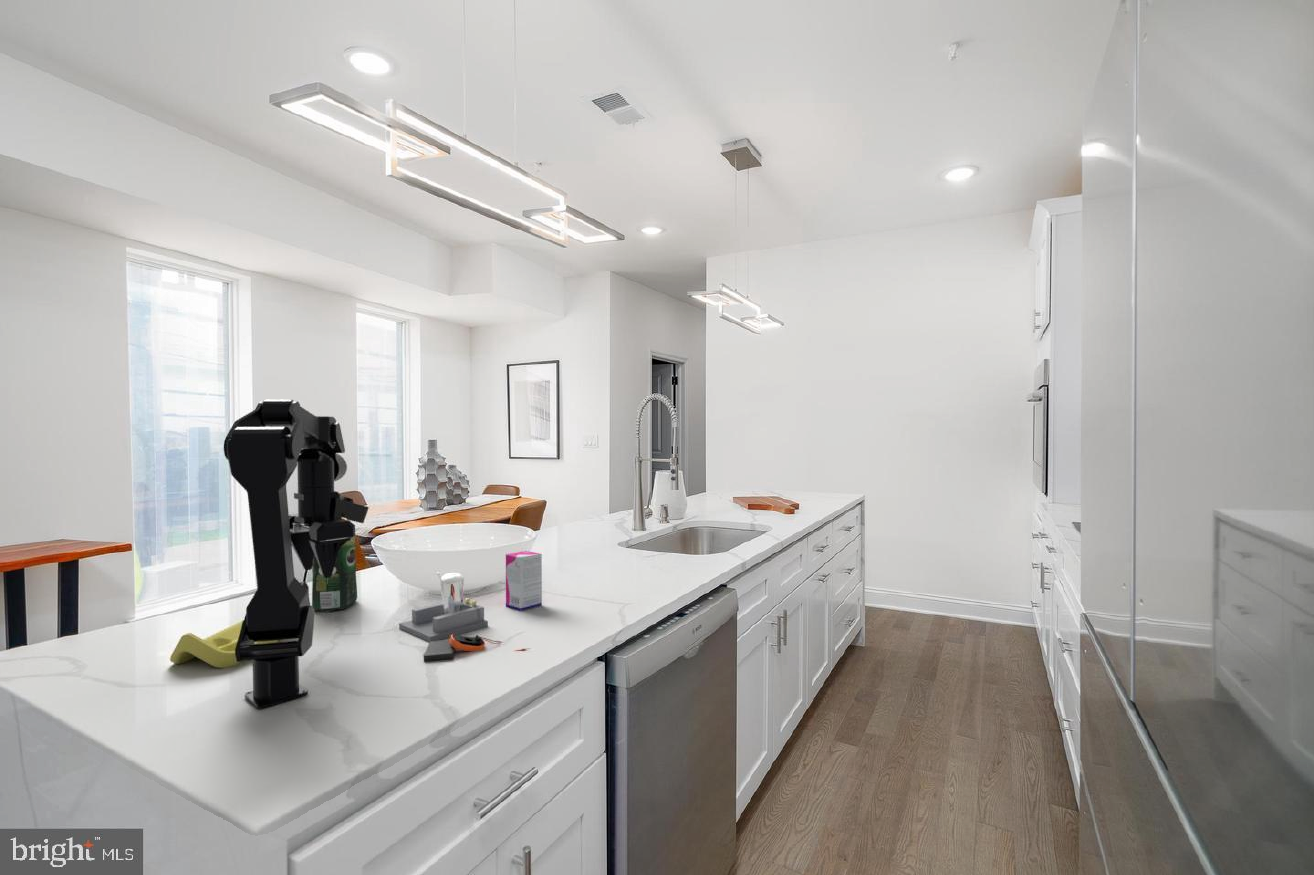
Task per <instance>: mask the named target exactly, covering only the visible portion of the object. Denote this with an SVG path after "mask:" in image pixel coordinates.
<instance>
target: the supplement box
mask: <svg viewBox="0 0 1314 875" xmlns="http://www.w3.org/2000/svg"><path fill="white" fill-rule="evenodd" d="M542 556H543V554H542V553H540V552H535V551H534V552H533V551H530V550H529V551H527V550H523V551H518V552H517V551H516V552H511V553H506V554H505V607H507V608H510V609H513V610H518V611H521V612H523V611H527V610H530V609H533V608H538V607H540V606H543V591H542V590H543V574H542V573H543V572H542V570H543V566H542V558H543V557H542Z"/></svg>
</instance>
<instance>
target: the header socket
mask: <svg viewBox="0 0 1314 875" xmlns="http://www.w3.org/2000/svg"><path fill="white" fill-rule="evenodd" d="M470 601H471V600H470V598H469V597H467V598H465V600H464V599H463V601H462V610H461V611H457V612H453V613H449V614H445V615H444V614H443V603H442V602H438V603H435V604H434V603H433V604H430V605H426V606H425V605H424V606H421V607H415V608H413V609H411V620H408V621H402V622H399V624H398V625H399V627H398V629H399V630H402V631H404V632H406V633H409V634H410V635H413V636H415V637H417V638H420V639H422V640H424V641H426V642H428V643H429V642H431V641H439V640H445V639H449V638H450V637H451V635H452V634H453V635H462V634H466V633H469V632H472V631H476V630H479V629H484V628H485V627H488V626H489V621H488V620H486V619H485V606H482V605H480V604H477V600H472V602H470Z"/></svg>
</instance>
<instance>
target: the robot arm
mask: <svg viewBox="0 0 1314 875" xmlns="http://www.w3.org/2000/svg"><path fill="white" fill-rule="evenodd" d="M343 438H344V437H343V433H342V428H341V425H340V423H339V422H337V420H336V418H335V417H334V416H329V415H327V416H325V415H324V416H322V415H319V416H318V415H317V416H316V415H315V414H313V413H311V412H310V411H309V410H306V408H304V407H302V406H301V404H300V402H299V401H298V400H297V401H296V400H294V399H264V400H261V401H259V402H258V403H257V405H256V407H255V409H254V410H252V411H250V412H248V413H247V414H245V415H243V416H242V417H240V418H238V419H237V420H236V421H234V422H233V425H232V426H231V427H230V429H229V431H228V432H227V434H226V436H225V438H224V441H223V453H224V457H225V459H226V460H227V461H228V465H229V470H230V474H231V477H233V478H234V480H235V481H236V482H238V484H239V485H240V486H241V487H242V488H243V490H244V491H246V494H247V500H248V501H247V502H248V509H249V519H250V520H249V521H250V530H251V538H252V548H253V549H252V550H253V558H254V566H255V568H254V569H255V575H256V576H255V577H256V584H257V586H256V588H257V589H256V591H255V593H254V594H253V596H252V597H251V599H250V601H249V603H248V605H247V606H246V609H245V615H244V619H243V620H242V621H243V622H242V626H241V630H240V635H239V638H238V641H237V645H236V648H235V657H236V660H237V662H241V663H242V662H245V661H252V690H251V691H247V692H245V693H244V698H245V699H246V700H248V702H250V704H252V705H253V707H255V708H256V709H264V708H267V707H271V706H273V705H274V706H275V705H278V704H280V703H283V702H286V701H290V700H293V699H296V698H300V697H301V698H302V697H303V696H306V695H309V690H308V689H307V688H306V687H304V686H303V685H301V684H300V664H299V663H300V662H299V661H300V657H304V655H305V654H306V653H307V652H308V651H309V650H310V648H311V647H312V646H313V637H314V626H315V624H314V623H315V610H314V608H313V606H312V603H311V600H310V588H309V587H310V586H309V585H308V583H307V582H306V581H299V580H298V579H297V578H296V577H295V569H294V559H293V558H294V557H293V551H294V552H295V554H296V556H297V558H298V560H299V561H300V564H301V566H302V567H303V570H305V571H310V570H313V558H314V554H315V557H316V559H317V562H318V565H319V567H320V570H321V572H322V574H323V577H324V578H329V577H331V576H332V573H333V569H334V566H335V563H336V559H337V556H338V553H339V550H340V548H341V547H342V546H343V545H344V544H345V543H346V542H347V541H350V540H351V538H352V537H353V536H355V537H356V525H355V524H354V523H353V522H356V523H361V524H364V523H365V519H366V517H367V515H368V511H369V508H370V507H369V506H365V505H361V504H358V503H355V502H354V499H353V498H352V497H347V496H344V495H342V496H341V494H340V493H339V491H335V482H337V481H340V480H341V479H342V478H343V477H345V474H346V473H347V470H348V465H347V463H346V460H345V458H344V456H341V454H344V453H345V452H346V448H345V444H344V439H343ZM296 468H297V492H293V499H295V500H297V512H298V513H289V502H288V494H287V493H288V492H287V483H288V482H289V481H290V478H291V477H292V475H293V474H294V472H295V470H296ZM292 639H293V641H285V640H292ZM294 639H295V640H294ZM296 639H297V640H296ZM273 640H278V641H280V642H277V643H266V644H254V643H255V642H261V641H273ZM283 640H284V641H283Z"/></svg>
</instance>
